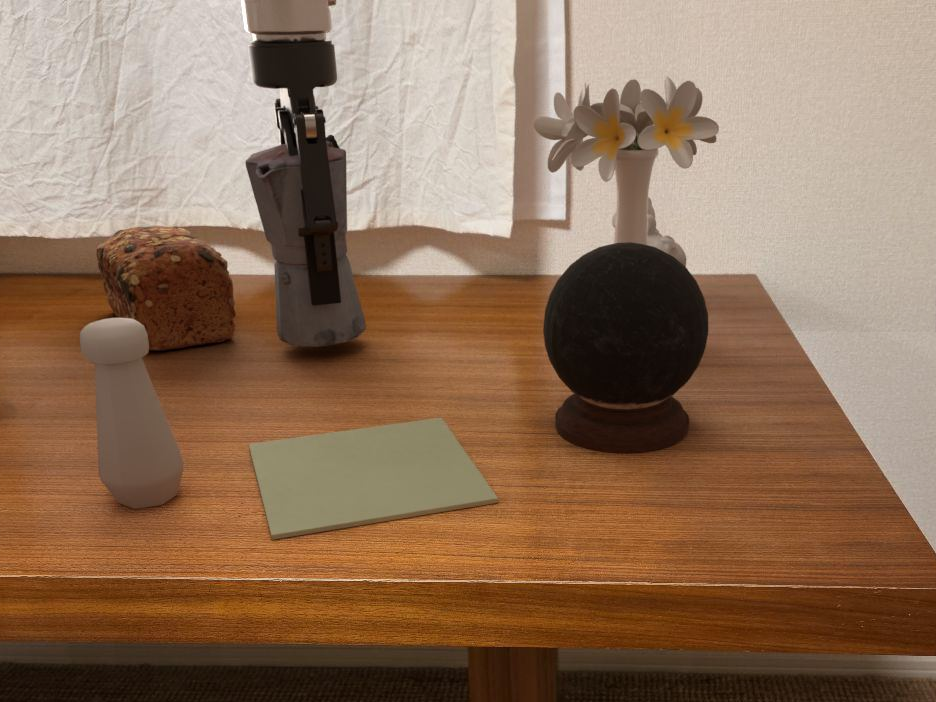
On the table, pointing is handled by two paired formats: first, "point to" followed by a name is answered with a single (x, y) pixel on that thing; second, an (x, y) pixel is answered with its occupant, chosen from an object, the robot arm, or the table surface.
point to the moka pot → (281, 220)
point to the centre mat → (365, 477)
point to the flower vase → (628, 141)
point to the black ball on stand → (625, 347)
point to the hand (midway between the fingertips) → (318, 289)
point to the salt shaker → (130, 417)
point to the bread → (168, 285)
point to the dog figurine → (660, 237)
